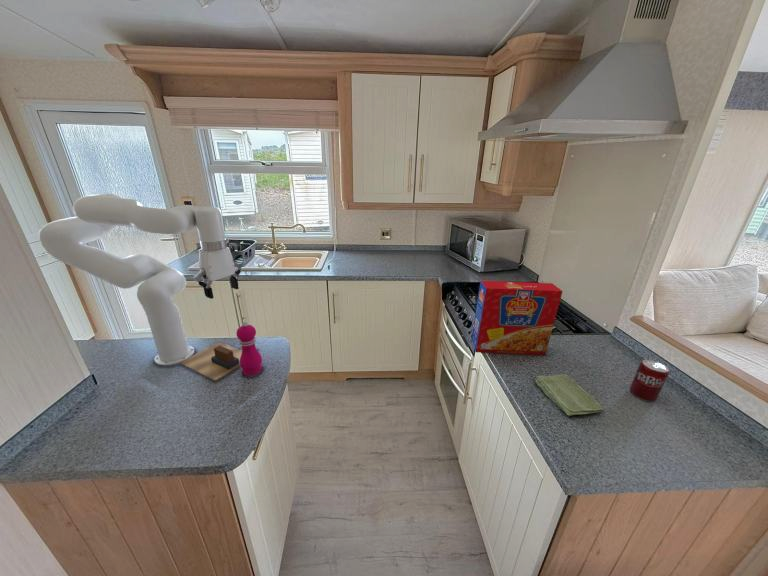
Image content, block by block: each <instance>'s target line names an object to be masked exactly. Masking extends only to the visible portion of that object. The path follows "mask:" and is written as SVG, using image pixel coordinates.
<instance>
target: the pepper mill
mask: <svg viewBox="0 0 768 576" xmlns="http://www.w3.org/2000/svg"><path fill="white" fill-rule="evenodd" d="M256 335H257V330H256V328H255V327H254V325H252V324H249V323H248V322H247V321H243V322H242V323H241V325H240V326H239V327H238V328H237V329H236V338H237V339H238V340H239V341H238V342H239V345H240V346H242V350H241V351H242V354H241V357H240V365H239V366H240V368H242V374H243V375H245V376H254V375H257V374H259V373H260V372H262V370H263V367H262V363H263V357H262V354H261V353H260V352H259V350H258V349H257V347H256V341H257V339H256Z"/></svg>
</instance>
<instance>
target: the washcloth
mask: <svg viewBox="0 0 768 576" xmlns="http://www.w3.org/2000/svg"><path fill="white" fill-rule="evenodd" d="M534 381H535V384H536V385H537V386H538V387H539V388H540V389H541V390H542V391H543V393H544V394H545V395H546V396H547V397H548V398H549V399H550V400H551V401H552V402H553V403H554V404H555V405H556V406H557V407H558V408H559V409H560V410H562V411H563V412H564V414H565V415H567V416H568V417H571V416H577V415H590V414H597V413H603V412H604V408H603V406H602V405H601V404H600V403H599V402H598V400H596V398H595V397H594V396H592V395H591V394H590V393H588V391H586V390H585V389H584V388H583V387H582V386H580V385H579V384H578V383H577V382H576V381H575V380H574V379H573V378H571V377H570V376H569V375H568V374H565V373H558V374H552V375H537V376H535V378H534Z"/></svg>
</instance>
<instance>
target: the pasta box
mask: <svg viewBox="0 0 768 576" xmlns="http://www.w3.org/2000/svg"><path fill="white" fill-rule="evenodd" d="M562 295H563V290H562V289H560V288H559V287H558V286H556V285H555V284H554V283H553V282H528V281H527V282H526V281H503V280H502V281H499V280H497V281H496V280H480V281H479V288H478V294H477V299H476V300H477V301H476V307H475V312H474V319H473V320H474V321H473V326H472V332H471V339H470V343H471V345H472V347H473V349H474V352H475V353H481V354H507V355H509V354H510V355H534V356H546V355H547V351H548V348H549V343H550V339H551V336H552V333H553V329H554V325H555V322H556V318H557V314H558V310H559V306H560V302H561V299H562Z"/></svg>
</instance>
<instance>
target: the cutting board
mask: <svg viewBox="0 0 768 576" xmlns="http://www.w3.org/2000/svg"><path fill="white" fill-rule="evenodd" d="M219 345H220V346H222V347H225V348H227V349H229V350H232V351H233V356H234V357H236V358H238V359H239V364H237V365H235V366H234V367H232V368H231V369H229V370H228V369H226V368H224V367H221V366H219V365H217V364H215V363H213V362H212V360H211V357H213V356H215V353H214V348H216V347H218V346H219ZM241 354H242V350H239V348H235V347H233V346H231V345H228V344H225V343H223V342H221V341H218V342H216V343H214V344H212V345H211V346H208V347H207V348H205V349H203V350H201V351H199V352H196V353H195V354H193V355H192V356H191V357H189V358H188V359H186V360H184V361H182V362H179V364H182V365H183V366H186V367H188V369H191V370H193V371H195V372H198V373H199V374H201V375H203V376H205V377H207V378H209V379H212V380H214V381H217V380H219V379H220V378H222V377H224V376H225V375H226V374H228V373H231V372H232V371H233V370H234V369H236V368H238V367H239V366H240V357H241Z"/></svg>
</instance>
